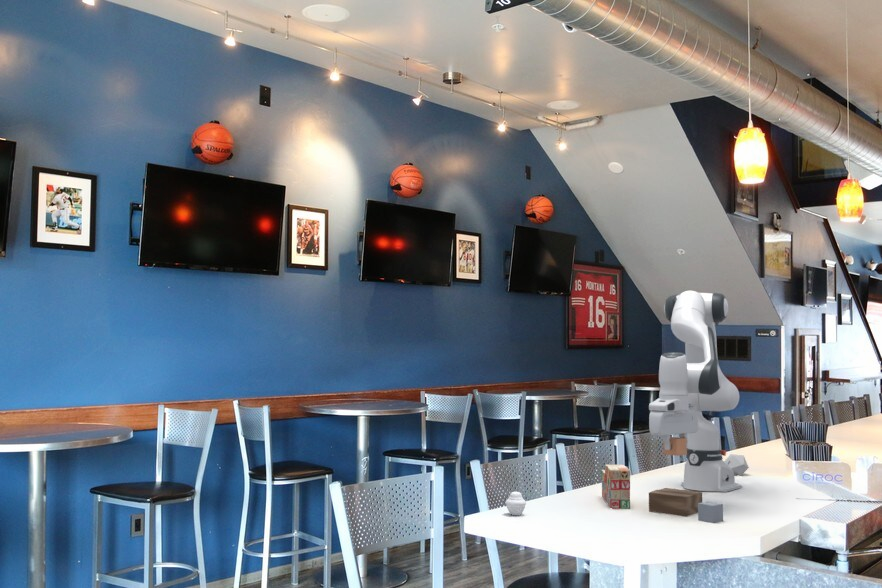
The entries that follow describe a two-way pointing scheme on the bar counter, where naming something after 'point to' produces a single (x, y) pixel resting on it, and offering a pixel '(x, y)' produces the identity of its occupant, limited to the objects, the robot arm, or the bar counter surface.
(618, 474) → the stack of blocks
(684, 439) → the rust cube
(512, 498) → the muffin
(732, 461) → the die
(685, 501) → the walnut block
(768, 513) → the bar counter surface
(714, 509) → the grey cube
